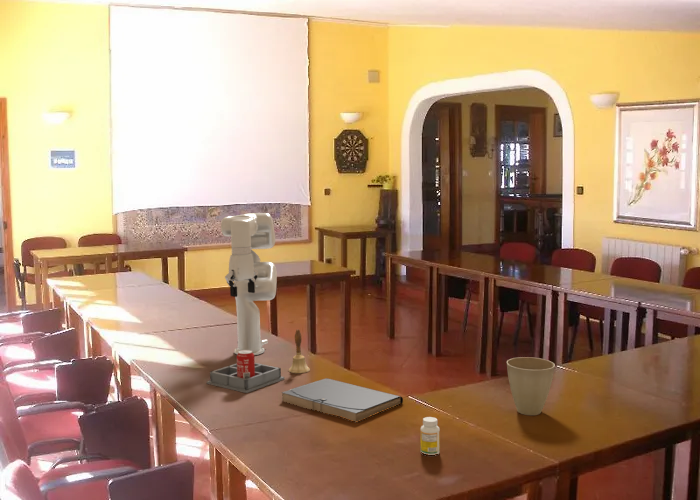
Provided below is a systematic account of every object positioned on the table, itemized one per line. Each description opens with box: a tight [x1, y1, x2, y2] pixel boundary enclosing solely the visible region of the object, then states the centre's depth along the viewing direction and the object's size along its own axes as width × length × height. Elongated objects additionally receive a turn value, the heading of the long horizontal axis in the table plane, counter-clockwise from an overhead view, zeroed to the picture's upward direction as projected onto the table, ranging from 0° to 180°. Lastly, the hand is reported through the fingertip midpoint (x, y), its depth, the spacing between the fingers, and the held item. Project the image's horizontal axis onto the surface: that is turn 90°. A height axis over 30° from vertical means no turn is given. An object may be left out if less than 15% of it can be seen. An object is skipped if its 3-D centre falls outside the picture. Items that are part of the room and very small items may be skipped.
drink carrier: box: [206, 362, 285, 394], centre depth 282 cm, size 20×20×4 cm
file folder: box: [281, 378, 404, 423], centre depth 257 cm, size 33×4×24 cm
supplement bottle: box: [419, 416, 441, 456], centre depth 213 cm, size 5×5×10 cm
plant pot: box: [506, 356, 556, 416], centre depth 245 cm, size 15×15×16 cm
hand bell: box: [287, 329, 311, 374], centre depth 295 cm, size 8×8×16 cm
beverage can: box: [236, 350, 256, 379], centre depth 276 cm, size 6×6×12 cm
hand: (242, 294), depth 301 cm, fingers open, 9 cm apart
